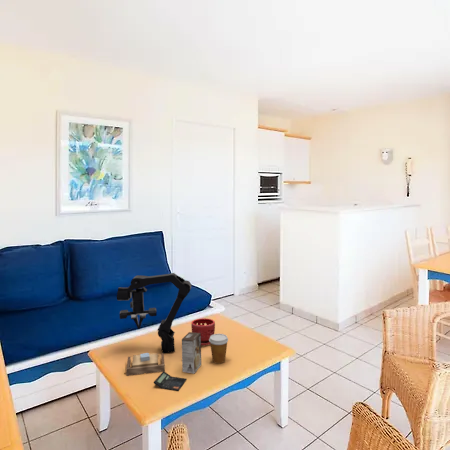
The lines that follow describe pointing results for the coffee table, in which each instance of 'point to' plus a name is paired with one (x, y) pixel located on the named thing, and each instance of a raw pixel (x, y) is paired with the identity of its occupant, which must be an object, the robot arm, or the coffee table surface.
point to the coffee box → (191, 352)
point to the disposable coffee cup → (218, 347)
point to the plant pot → (204, 329)
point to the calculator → (169, 382)
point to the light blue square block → (145, 357)
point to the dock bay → (145, 368)
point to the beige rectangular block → (152, 361)
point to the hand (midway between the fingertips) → (138, 328)
